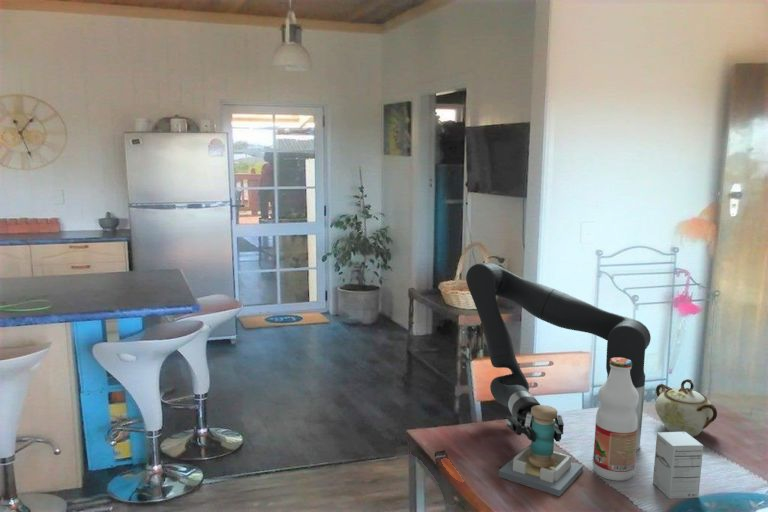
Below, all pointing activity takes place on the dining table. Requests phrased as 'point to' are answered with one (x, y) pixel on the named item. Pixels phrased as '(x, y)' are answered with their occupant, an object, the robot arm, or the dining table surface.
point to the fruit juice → (616, 424)
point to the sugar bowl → (684, 409)
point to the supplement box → (677, 464)
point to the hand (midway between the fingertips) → (546, 437)
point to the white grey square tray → (542, 472)
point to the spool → (543, 436)
